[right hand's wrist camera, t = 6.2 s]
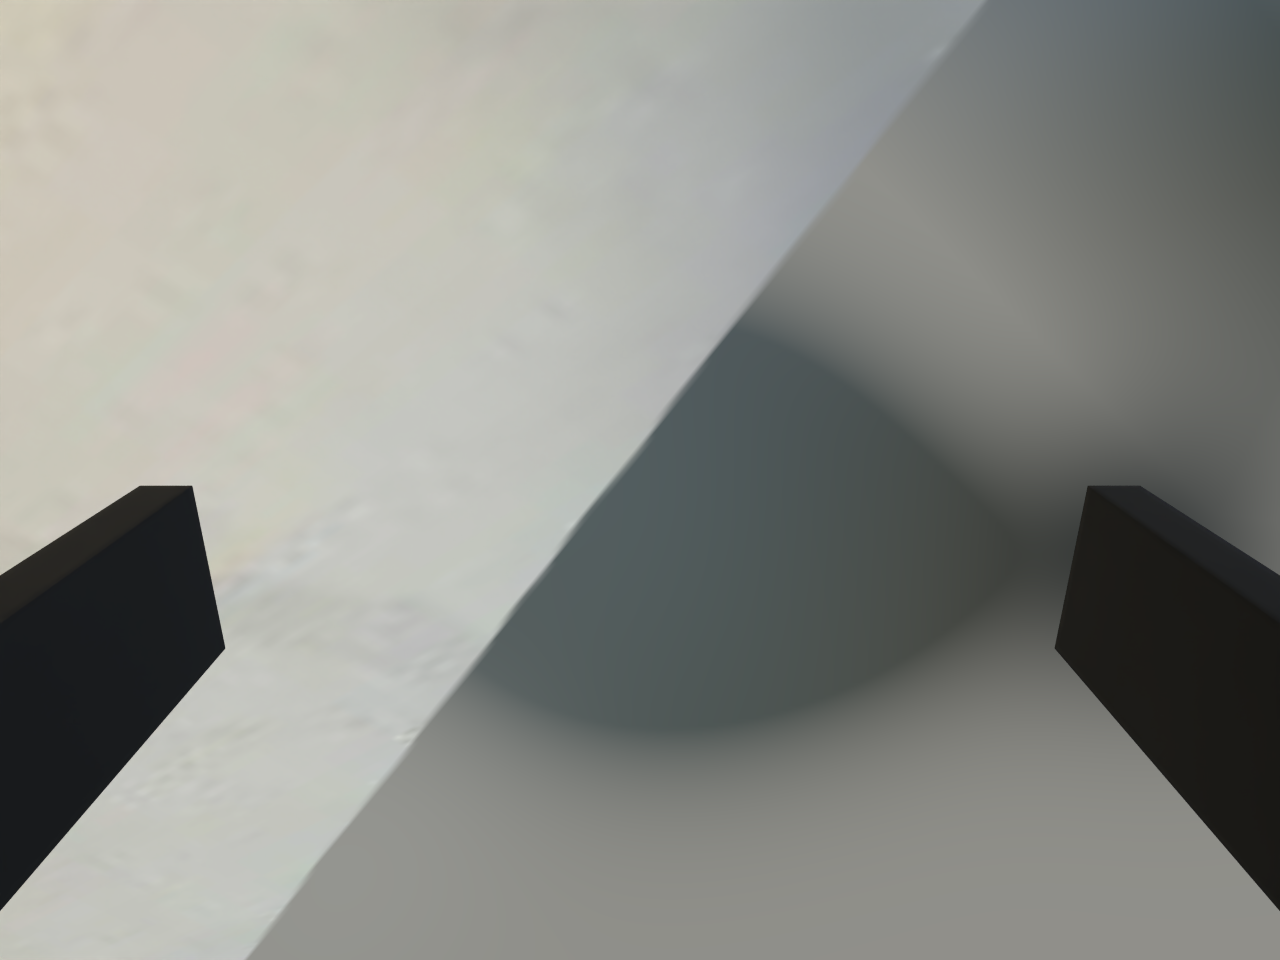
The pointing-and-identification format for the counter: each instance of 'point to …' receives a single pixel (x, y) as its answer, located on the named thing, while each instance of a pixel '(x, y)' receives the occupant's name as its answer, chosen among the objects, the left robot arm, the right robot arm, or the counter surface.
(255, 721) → the counter surface
